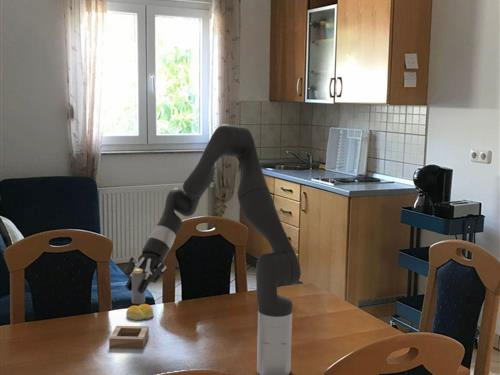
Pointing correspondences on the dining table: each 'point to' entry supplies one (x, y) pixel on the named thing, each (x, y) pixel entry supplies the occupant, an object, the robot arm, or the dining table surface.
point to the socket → (129, 337)
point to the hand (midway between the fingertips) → (133, 290)
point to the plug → (136, 281)
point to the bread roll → (140, 312)
